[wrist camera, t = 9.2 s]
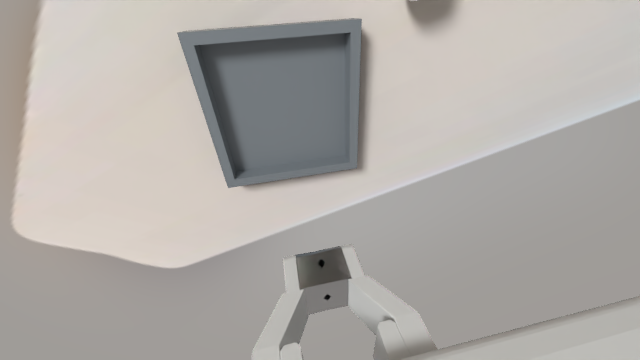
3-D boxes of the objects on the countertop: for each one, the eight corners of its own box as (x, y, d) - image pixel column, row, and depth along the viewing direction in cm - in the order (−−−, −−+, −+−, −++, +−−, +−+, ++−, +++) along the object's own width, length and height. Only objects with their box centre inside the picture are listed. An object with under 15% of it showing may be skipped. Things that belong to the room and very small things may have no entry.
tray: (353, 18, 25) (361, 18, 23) (351, 158, 34) (356, 168, 32) (184, 31, 23) (177, 32, 21) (230, 176, 32) (228, 187, 30)
